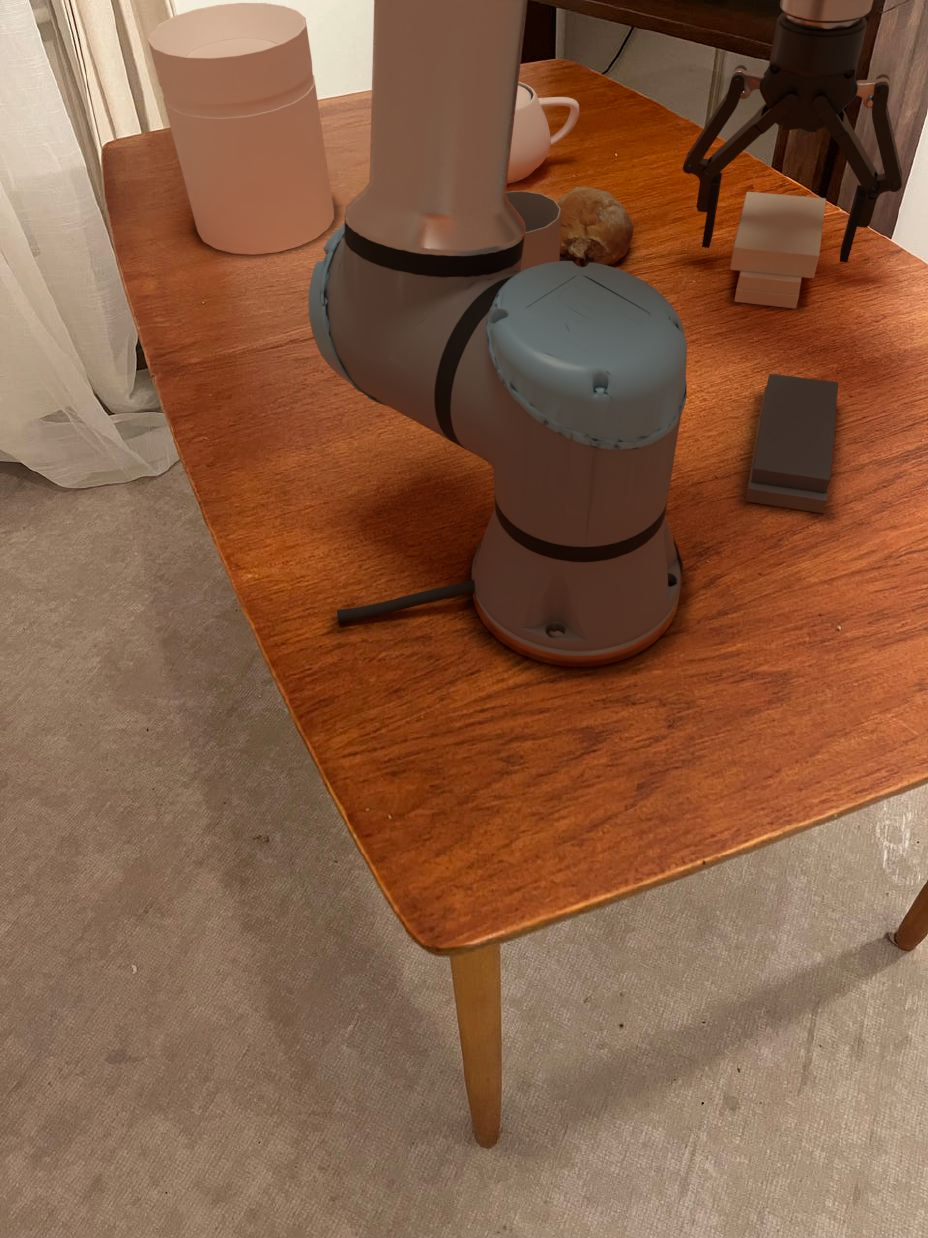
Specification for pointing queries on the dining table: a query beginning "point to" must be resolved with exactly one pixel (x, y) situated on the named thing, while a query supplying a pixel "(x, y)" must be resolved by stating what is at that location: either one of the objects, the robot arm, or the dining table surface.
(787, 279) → the white stack
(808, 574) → the dining table surface
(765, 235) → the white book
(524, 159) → the teapot
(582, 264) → the bread roll
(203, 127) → the canister
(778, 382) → the grey stack
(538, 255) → the cup
